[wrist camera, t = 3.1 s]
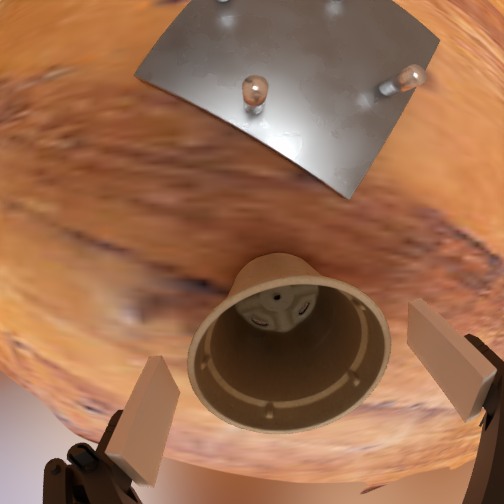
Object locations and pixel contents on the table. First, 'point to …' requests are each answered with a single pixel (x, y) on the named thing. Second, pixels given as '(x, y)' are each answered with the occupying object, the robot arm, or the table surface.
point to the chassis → (298, 75)
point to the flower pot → (288, 349)
